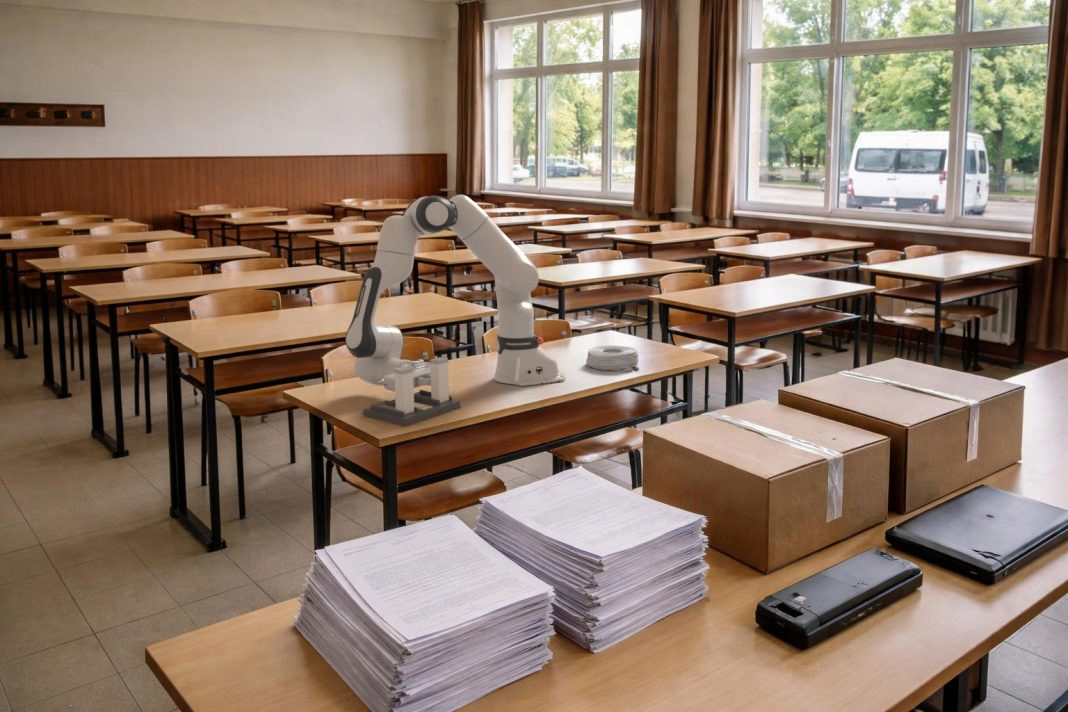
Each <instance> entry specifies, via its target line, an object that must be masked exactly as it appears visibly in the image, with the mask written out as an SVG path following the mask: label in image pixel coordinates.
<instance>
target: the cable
mask: <svg viewBox="0 0 1068 712" xmlns="http://www.w3.org/2000/svg"><path fill="white" fill-rule="evenodd" d="M585 362H586V365H587V366H588V367H590V368H593V369H597V370H603V371H609V370H612V371H611V372H625V373H627V372H628V373H630V372H632V371H634V370H635V371H639V370H640V368H639V366H638V363H639V352H638V351H637V349H636V348H634V347H631V346H626V345H614V344H613V345H599V346H594V347H591V348H589V349H588V351H587V357H586V361H585ZM633 367H634V368H633Z"/></svg>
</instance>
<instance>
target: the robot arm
mask: <svg viewBox="0 0 1068 712" xmlns="http://www.w3.org/2000/svg"><path fill="white" fill-rule="evenodd" d="M447 229H449V230H451V231H452V232H453V233H455V235H457V237H458V238H459V239H460V240H461V242H462V243H463V244H464V245H465V246H466V247H467V248H468V249H469V250H470V251H471V253H472V254H473V255H474V257H476V258H477V259H478V260H479V261H480V263H482V265H483V266H484V267H485V268H486V269H488V270H489V272H490V273H492V274H493V276H494V285H495V286H494V288H495V296H496V302H497V310H498V311H497V314H498V315H497V316H498V319H497V321H498V325H497V326H498V334H497V336H496V338H497V339H496V352H497V362H496V367H495V373H494V375H493V379H494V381H496V382H498V383H503V384H507V385H508V384H509V385H514V386H520V387H526V386H534V385H541V383H543V384H550V383H551V382H552V383H558V381H560V382H564V381H565V380H566V376H565V373H564V372H562V371H561V370H559V368H558V362H557V360H556V358H555V357H554V356H553V355H552V354H551V353H549V352H548V351H546V350H545V349H544V348H542V347H541V346H540V345H544V343H545V341H544V338H543V337H540V336H538V335H536V334H534V333H535V332H534V330H535V329H534V327H535V326H534V325H535V324H534V323H535V322H534V320H535V318H534V317H535V316H534V315H535V314H534V313H535V312H534V307H533V302H532V296H531V293H532V292H533V291H534V290H535V289H537V288H536V287H538V284H539V281H540V279H539V278H540V276H539V272H538V269H537V267H536V265H535V264H534V263H533V262H532V261H531V259H529V257H527V255H525V253H524V252H523V251H521V249H520V248H519V247H518V245H516V244H515V243H514V242H513V241H512V240H511V239H510V238H509V237H508V236H507V235H506V234H505V233H504V232H503V231H502V229H501V228H500V227H499V226H498V225H497V224H496V222H495V221H493V219H492V218H491V217H490V215H488V213H487V212H485V210H484V209H482V208H481V206H479V204H478V203H476V202H475V201H474V200H472V198H471V197H469V196H467V195H465V194H456V195H455V196H453V197H451V198H450V199H446V198H443V197H442V196H439V195H438V196H437V195H430V196H428V195H427V196H422V197H419V198H417V199H416V200H413V201H411V203H409V204H408V205H407V207H406V208H405V210H404V211H403V212H402V214H401V215H397V214H396V215H391V216H388V217H387V218H385V220H384V221H383V223H382V226H381V230H380V233H379V237H378V241H377V248H376V252H375V258H374V261H373V263H372V265H371V268H368V270H367V271H366V273H365V274H364V276H363V279H362V283H361V286H360V289H359V293H358V297H357V300H356V305H355V308H354V313H353V316H352V320H351V322H350V325H349V326H348V328H347V331H346V333H345V345H346V348H347V350H348V352H349V353H350V354H351V355H352V356H353V357H355V358H356V360H355V362H354V371H355V374H356V376H357V377H358V378H359V379H360V380H362V381H363V382H366V383H367V384H371V385H374V386H378V387H383V388H384V389H386V390H388V391H392V392H394V393H395V373H394V369H398V368H401V367H410V368H413V383H414V389H415V388H419V387H422V386H428V387H431V365H430V361H428V362H427V361H424V359H421V358H418V359H417V358H415V359H404V358H402V355H403V351H404V347H405V345H404V344H405V341H404V340H405V339H404V335H403V333H402V331H401V330H400V328H399V327H397V326H395V325H389V324H388V325H387V324H378V323H376V324H374V319H375V316H376V313H377V312H376V311H377V308H378V304H379V300H380V297H381V295H382V293H384V291H385V290H387V289H389V288H390V287H393V286H396V285H399V284H401V283H404V281H405V280H407V279H408V278H409V277H411V274H412V272H413V268H414V267H413V266H414V262H415V253H416V246H417V243H418V239H419V238H420V237H421V236H425V235H427V236H428V235H429V236H430V235H434V234H436V233H440V232H443V231H445V230H447ZM401 358H402V359H401Z"/></svg>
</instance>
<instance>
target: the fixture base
mask: <svg viewBox="0 0 1068 712" xmlns="http://www.w3.org/2000/svg"><path fill="white" fill-rule="evenodd" d="M460 408H461V400H459V399H458V400H457V399H453V396H452V395H449V400H447V401H444V402H441V403H440V400H435V399H431V391H428V390H422V389H419V391H418V392H415V393H414V411H413V412H410V413H407V414H404V412H403V411H398V410H396V402H395V399H391V400H384V402H382V403H378V404H371V405H370V406H369V407H365V408H362V411H363V413H362V414H363V415H362V416H363V417H366V416H367V418H370V419H375V420H379V421H382V420H383V421H382V422H386V421H387V422H386V423H390V422H391V424H394V423H395V425H398V424H399V426H403V427H408V426H411V425H413V424H417V423H420V422H423V421H426V420H428V418H429V419H431V418H434V417H438V416H439V415H443V414H446V413H448V412H452V411H455V410H457V409H460ZM425 419H426V420H425ZM422 420H423V421H422ZM419 421H420V422H419ZM416 422H417V423H416Z"/></svg>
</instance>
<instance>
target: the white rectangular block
mask: <svg viewBox="0 0 1068 712" xmlns="http://www.w3.org/2000/svg"><path fill="white" fill-rule="evenodd" d="M394 373H395V392H394V396H395V397H394V398H395V402H396V410H398V411H403V412H404V414H407V413H410V412H413V411H414V392H415V390H414V389H415V388H414V383H413V368H410V367H401V368H398V369H394Z"/></svg>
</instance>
